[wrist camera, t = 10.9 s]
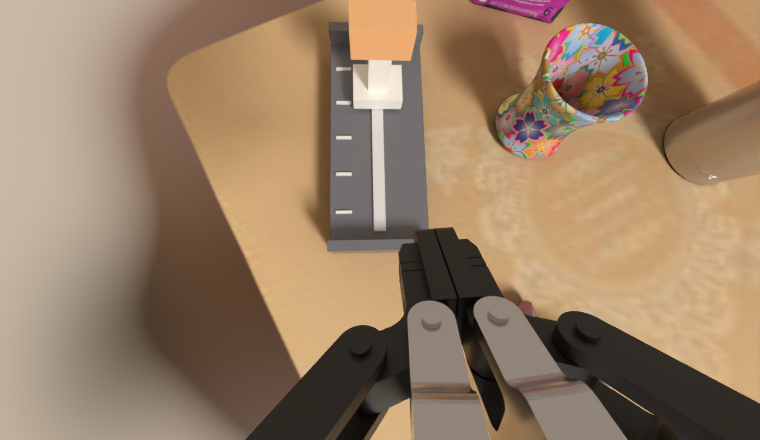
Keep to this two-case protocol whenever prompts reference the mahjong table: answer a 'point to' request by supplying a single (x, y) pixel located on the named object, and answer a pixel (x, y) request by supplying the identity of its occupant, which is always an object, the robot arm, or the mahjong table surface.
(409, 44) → the fader knob
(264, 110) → the mahjong table surface
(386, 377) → the robot arm
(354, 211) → the fader console
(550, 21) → the candy bar box
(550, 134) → the mug
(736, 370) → the mahjong table surface
